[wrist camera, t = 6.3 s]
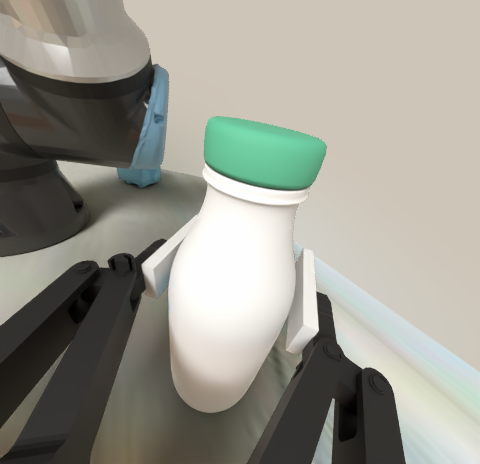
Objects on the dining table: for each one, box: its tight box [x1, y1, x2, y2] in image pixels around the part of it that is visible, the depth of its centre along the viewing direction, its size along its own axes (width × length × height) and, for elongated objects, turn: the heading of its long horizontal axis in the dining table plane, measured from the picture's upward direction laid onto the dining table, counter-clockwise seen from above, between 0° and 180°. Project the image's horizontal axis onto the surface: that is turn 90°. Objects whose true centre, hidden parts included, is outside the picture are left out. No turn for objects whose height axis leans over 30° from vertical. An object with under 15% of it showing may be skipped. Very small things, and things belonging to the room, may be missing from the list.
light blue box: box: [117, 166, 161, 188], centre depth 45 cm, size 12×6×8 cm, turn 70°
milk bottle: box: [168, 116, 327, 413], centre depth 12 cm, size 8×8×20 cm
